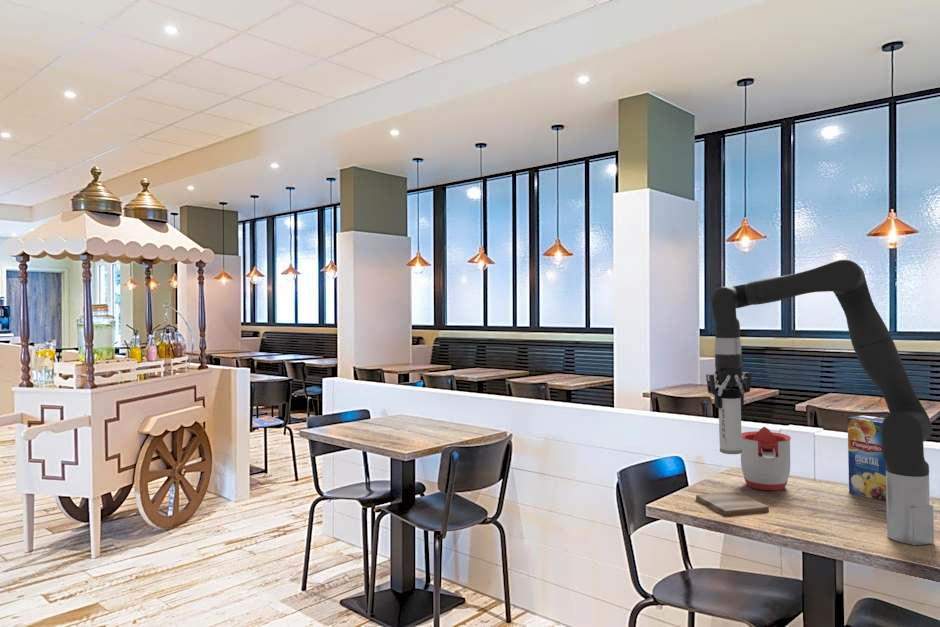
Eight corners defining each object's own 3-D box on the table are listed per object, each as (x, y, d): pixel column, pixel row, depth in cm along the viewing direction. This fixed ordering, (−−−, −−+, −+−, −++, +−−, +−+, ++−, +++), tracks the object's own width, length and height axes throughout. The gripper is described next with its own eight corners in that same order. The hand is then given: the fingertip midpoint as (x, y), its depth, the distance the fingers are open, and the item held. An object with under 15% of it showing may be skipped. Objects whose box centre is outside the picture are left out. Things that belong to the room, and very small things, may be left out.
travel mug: (737, 449, 198) (736, 384, 198) (744, 454, 192) (743, 387, 192) (716, 449, 199) (715, 385, 199) (723, 454, 193) (721, 387, 192)
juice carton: (901, 498, 198) (900, 420, 198) (886, 502, 195) (885, 423, 195) (863, 488, 209) (862, 415, 209) (848, 492, 206) (847, 417, 206)
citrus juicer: (743, 493, 208) (742, 431, 208) (738, 478, 224) (736, 421, 224) (797, 496, 203) (795, 433, 203) (787, 481, 220) (786, 423, 220)
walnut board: (768, 511, 189) (768, 506, 189) (725, 516, 187) (725, 510, 187) (736, 496, 205) (736, 491, 205) (696, 499, 202) (696, 495, 202)
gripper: (713, 354, 190) (714, 410, 190) (757, 352, 193) (758, 407, 193) (699, 352, 197) (701, 407, 198) (741, 350, 200) (743, 404, 200)
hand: (729, 407), depth 195 cm, fingers closed on travel mug, 6 cm apart
